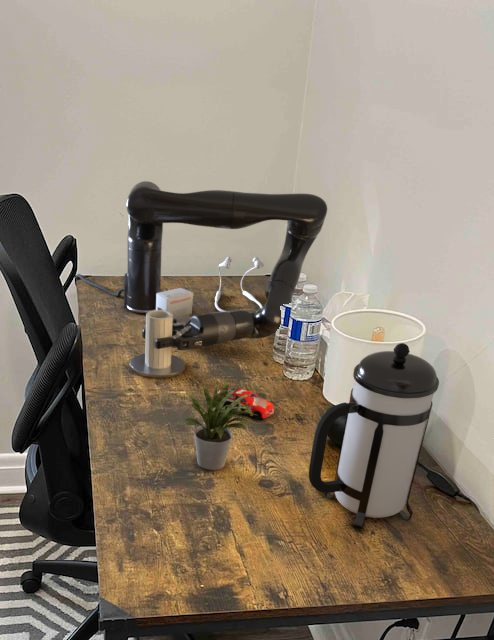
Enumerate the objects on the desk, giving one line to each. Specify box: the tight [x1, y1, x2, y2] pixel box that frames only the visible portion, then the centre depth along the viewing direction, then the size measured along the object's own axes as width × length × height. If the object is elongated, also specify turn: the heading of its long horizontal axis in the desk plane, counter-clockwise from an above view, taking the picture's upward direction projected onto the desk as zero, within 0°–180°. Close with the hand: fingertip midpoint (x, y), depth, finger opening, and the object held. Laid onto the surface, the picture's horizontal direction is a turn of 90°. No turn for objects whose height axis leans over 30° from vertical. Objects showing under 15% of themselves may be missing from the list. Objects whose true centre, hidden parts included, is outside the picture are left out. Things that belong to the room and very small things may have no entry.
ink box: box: [156, 287, 194, 323], centre depth 186 cm, size 9×5×12 cm, turn 129°
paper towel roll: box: [144, 310, 173, 369], centre depth 170 cm, size 6×6×12 cm
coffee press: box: [308, 342, 440, 530], centre depth 118 cm, size 17×16×30 cm
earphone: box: [214, 256, 265, 312], centre depth 210 cm, size 14×17×18 cm
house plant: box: [176, 378, 256, 471], centre depth 132 cm, size 14×14×16 cm
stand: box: [129, 353, 186, 379], centre depth 171 cm, size 13×13×10 cm
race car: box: [217, 387, 275, 420], centre depth 155 cm, size 13×5×4 cm, turn 57°
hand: (149, 338), depth 169 cm, fingers closed on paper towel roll, 6 cm apart
